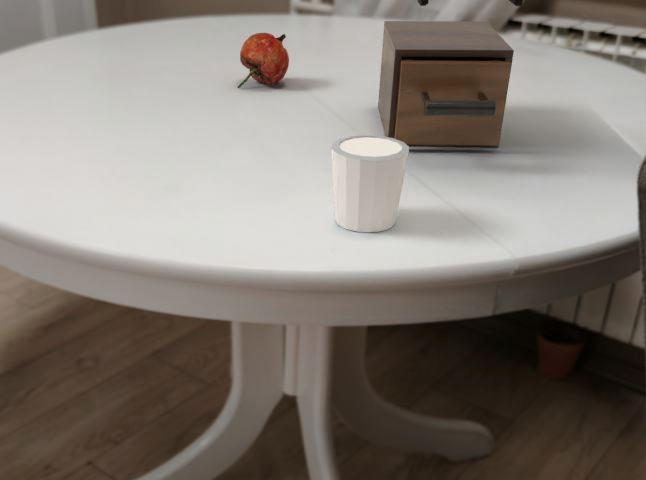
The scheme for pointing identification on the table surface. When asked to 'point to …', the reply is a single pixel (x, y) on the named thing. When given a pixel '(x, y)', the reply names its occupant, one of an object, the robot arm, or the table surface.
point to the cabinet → (432, 43)
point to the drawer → (451, 100)
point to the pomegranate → (265, 58)
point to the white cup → (367, 181)
